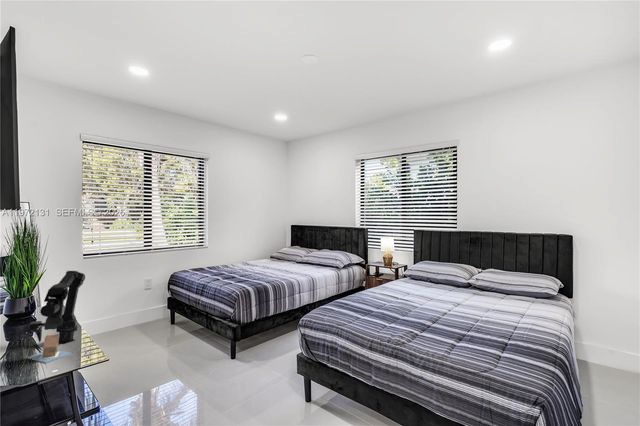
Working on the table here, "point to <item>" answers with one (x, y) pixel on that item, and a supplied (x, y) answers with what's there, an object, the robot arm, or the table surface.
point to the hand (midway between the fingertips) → (51, 341)
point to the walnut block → (49, 351)
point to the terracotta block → (51, 340)
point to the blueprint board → (48, 359)
